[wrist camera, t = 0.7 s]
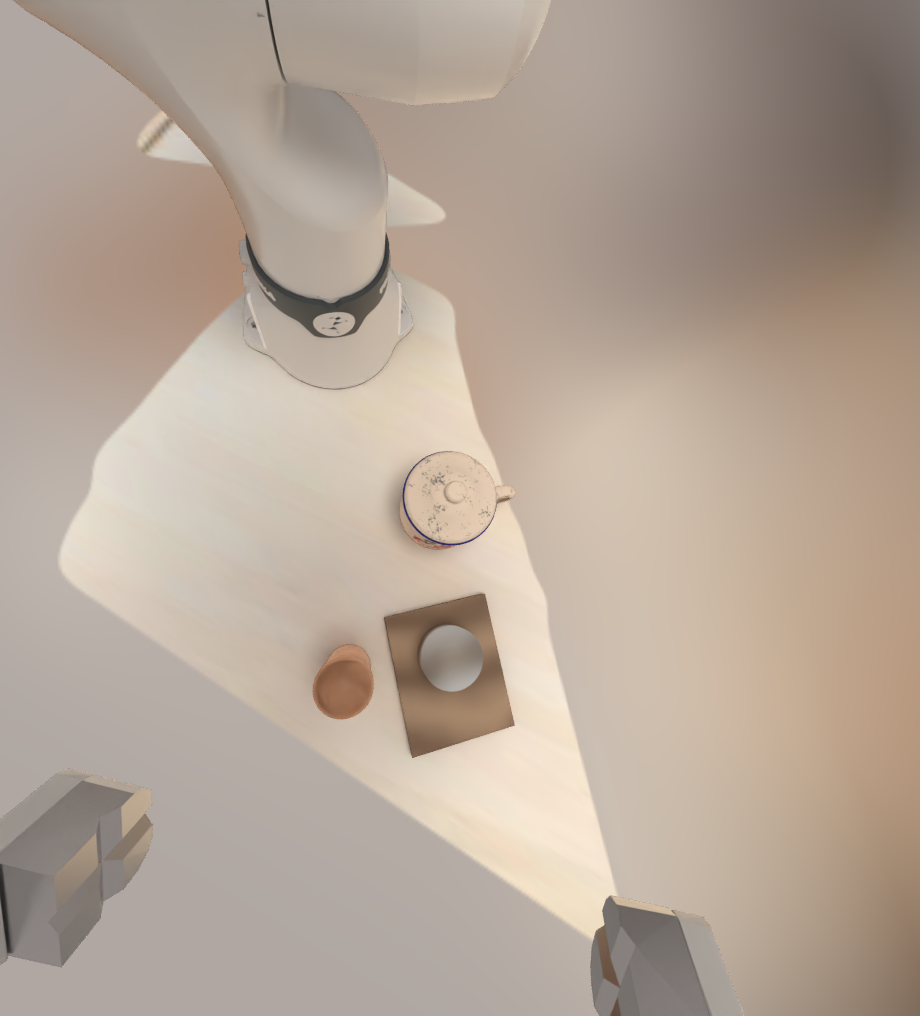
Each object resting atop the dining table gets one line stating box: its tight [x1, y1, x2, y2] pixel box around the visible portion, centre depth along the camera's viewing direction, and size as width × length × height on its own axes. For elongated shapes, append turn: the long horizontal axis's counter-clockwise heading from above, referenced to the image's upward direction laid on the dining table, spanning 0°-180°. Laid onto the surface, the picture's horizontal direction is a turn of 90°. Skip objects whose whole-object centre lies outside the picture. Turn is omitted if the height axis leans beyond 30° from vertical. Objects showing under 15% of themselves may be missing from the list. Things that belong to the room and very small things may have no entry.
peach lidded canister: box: [313, 645, 373, 719], centre depth 42 cm, size 5×5×10 cm
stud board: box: [384, 594, 514, 758], centre depth 46 cm, size 14×11×5 cm
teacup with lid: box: [399, 451, 515, 549], centre depth 46 cm, size 12×9×12 cm
